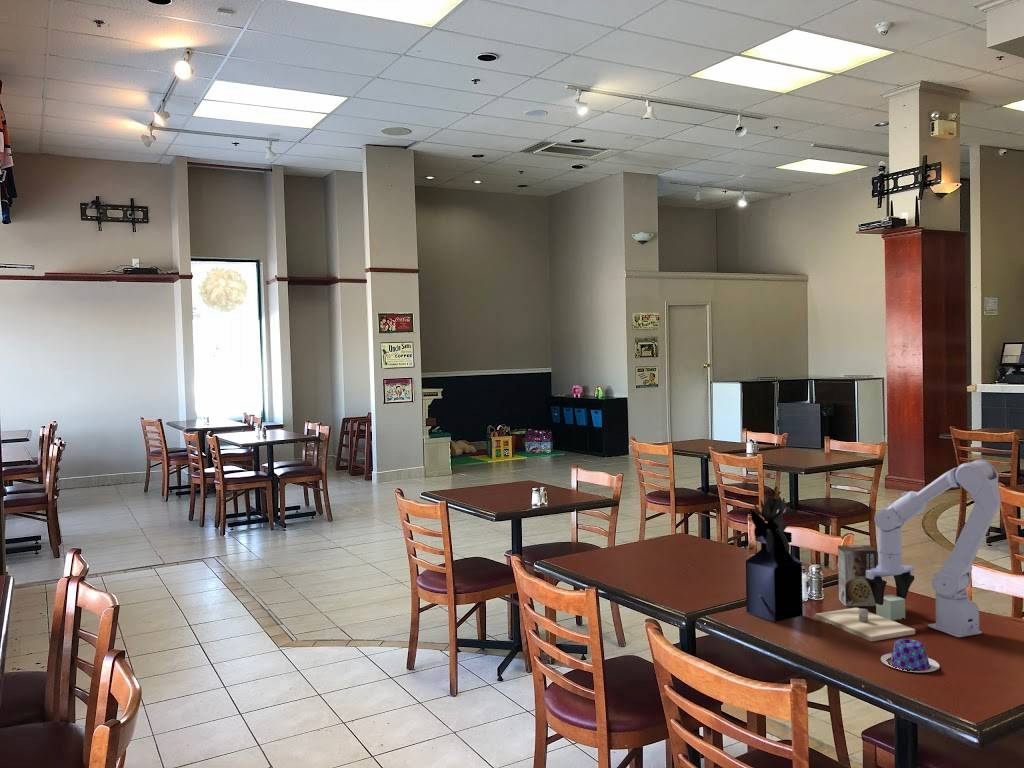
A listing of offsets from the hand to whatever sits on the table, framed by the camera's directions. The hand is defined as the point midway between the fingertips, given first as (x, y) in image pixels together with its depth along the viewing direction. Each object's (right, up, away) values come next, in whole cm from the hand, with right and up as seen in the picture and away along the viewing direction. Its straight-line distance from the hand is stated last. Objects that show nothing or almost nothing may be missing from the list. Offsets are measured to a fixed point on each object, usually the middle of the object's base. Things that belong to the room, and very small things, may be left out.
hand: (890, 602), depth 215 cm
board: (-10, -4, -7) cm, 13 cm away
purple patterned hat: (-11, -5, -34) cm, 36 cm away
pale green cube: (0, -4, 0) cm, 4 cm away
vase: (-30, -5, +4) cm, 31 cm away
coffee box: (-3, -4, +13) cm, 14 cm away
